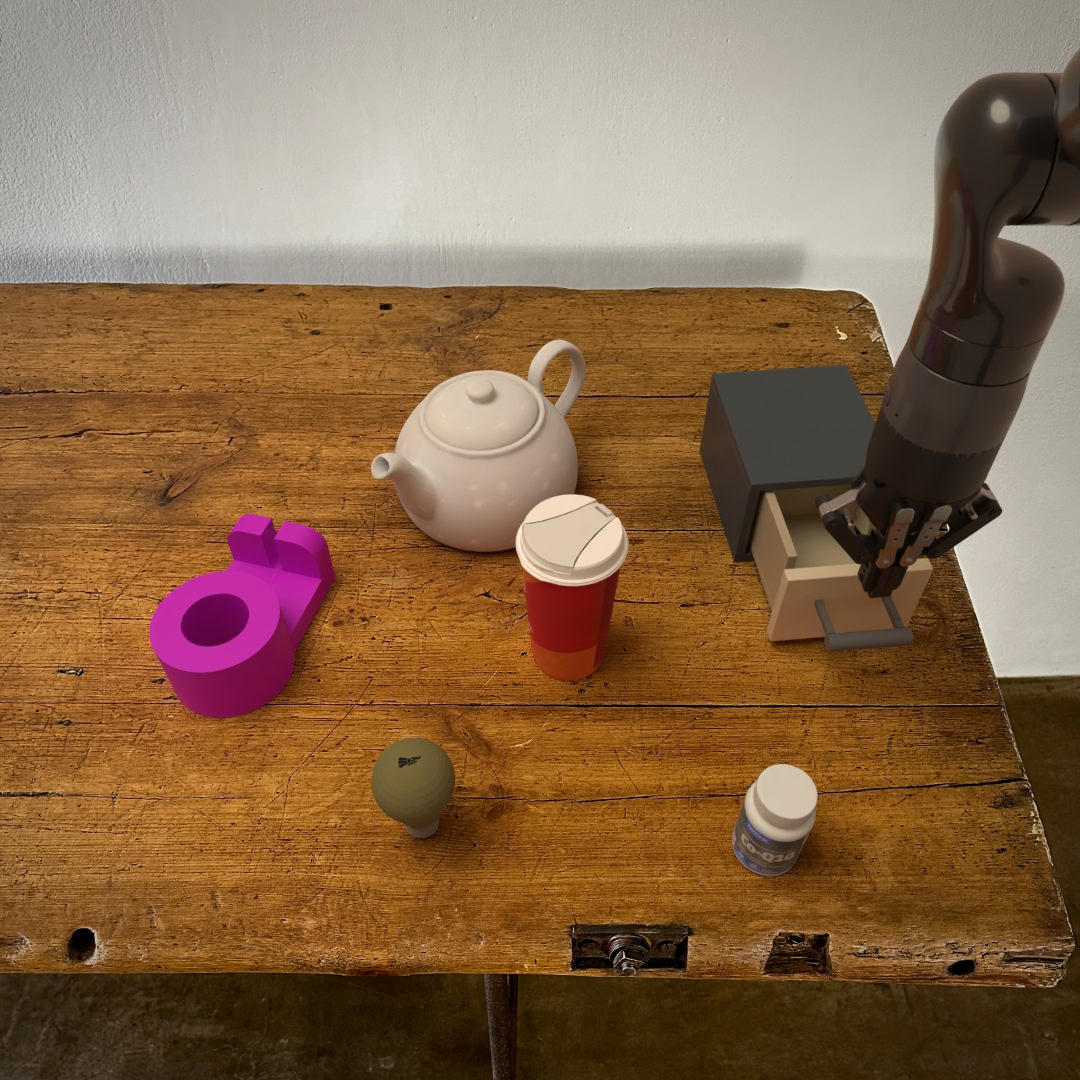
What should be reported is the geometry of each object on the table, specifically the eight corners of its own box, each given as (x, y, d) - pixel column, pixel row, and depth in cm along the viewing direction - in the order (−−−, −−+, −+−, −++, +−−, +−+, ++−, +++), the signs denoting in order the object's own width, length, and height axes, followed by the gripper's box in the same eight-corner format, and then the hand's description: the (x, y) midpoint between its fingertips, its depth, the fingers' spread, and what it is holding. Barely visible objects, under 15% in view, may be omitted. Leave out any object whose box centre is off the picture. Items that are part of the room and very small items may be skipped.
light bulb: (410, 880, 68) (393, 814, 60) (370, 819, 71) (350, 750, 63) (476, 835, 70) (468, 766, 63) (435, 778, 73) (423, 707, 66)
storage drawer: (926, 677, 78) (957, 617, 72) (785, 689, 77) (805, 629, 71) (854, 513, 90) (875, 450, 84) (731, 522, 90) (745, 460, 84)
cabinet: (871, 551, 88) (901, 473, 81) (733, 562, 88) (751, 484, 80) (823, 442, 98) (846, 364, 91) (699, 450, 97) (712, 373, 90)
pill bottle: (725, 866, 69) (743, 811, 62) (738, 807, 72) (757, 749, 65) (792, 887, 68) (818, 833, 61) (802, 827, 71) (828, 769, 64)
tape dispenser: (261, 730, 76) (243, 685, 71) (149, 701, 78) (124, 655, 73) (343, 579, 86) (332, 531, 82) (242, 556, 88) (226, 508, 83)
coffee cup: (572, 596, 85) (577, 473, 74) (638, 655, 81) (653, 534, 70) (497, 647, 81) (490, 525, 70) (562, 712, 77) (565, 593, 66)
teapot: (590, 565, 87) (596, 454, 77) (385, 566, 87) (365, 454, 77) (582, 427, 100) (587, 316, 90) (403, 428, 100) (388, 316, 90)
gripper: (861, 458, 57) (803, 635, 70) (1077, 442, 58) (980, 621, 71) (823, 378, 62) (775, 558, 75) (1022, 365, 63) (941, 545, 76)
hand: (875, 588), depth 73 cm, fingers closed
